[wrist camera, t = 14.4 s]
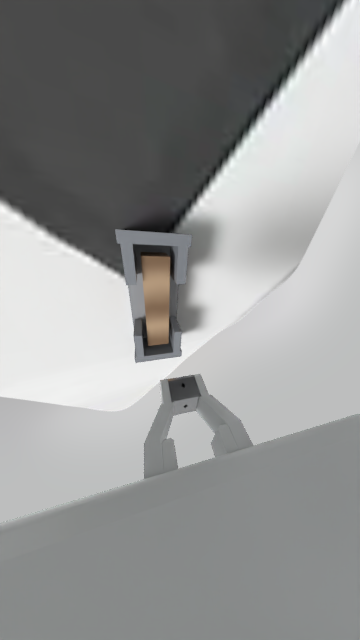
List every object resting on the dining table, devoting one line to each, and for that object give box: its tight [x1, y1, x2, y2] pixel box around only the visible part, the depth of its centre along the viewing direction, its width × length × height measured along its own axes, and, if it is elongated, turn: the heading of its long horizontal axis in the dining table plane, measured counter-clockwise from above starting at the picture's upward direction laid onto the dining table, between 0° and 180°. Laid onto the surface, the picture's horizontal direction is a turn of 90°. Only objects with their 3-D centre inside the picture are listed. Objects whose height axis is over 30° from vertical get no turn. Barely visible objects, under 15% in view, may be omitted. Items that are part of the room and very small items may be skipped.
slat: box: [141, 252, 170, 346], centre depth 22 cm, size 14×4×4 cm, turn 176°
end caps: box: [115, 229, 192, 363], centre depth 22 cm, size 19×8×6 cm, turn 176°
